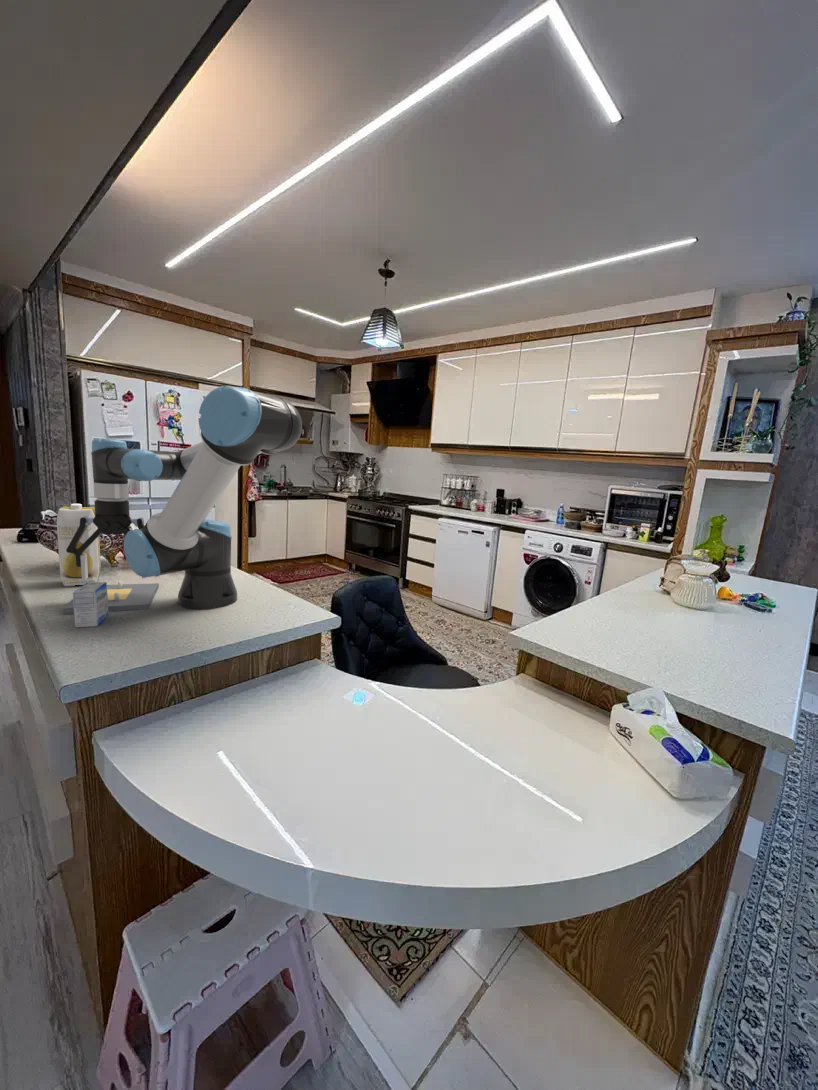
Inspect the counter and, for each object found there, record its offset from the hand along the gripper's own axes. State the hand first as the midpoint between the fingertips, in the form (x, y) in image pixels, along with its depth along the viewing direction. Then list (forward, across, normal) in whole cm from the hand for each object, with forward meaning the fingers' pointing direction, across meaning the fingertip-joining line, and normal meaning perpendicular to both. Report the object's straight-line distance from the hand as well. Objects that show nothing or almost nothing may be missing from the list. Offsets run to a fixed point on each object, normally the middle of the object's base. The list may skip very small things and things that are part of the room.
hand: (115, 577), depth 118 cm
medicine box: (+6, +2, +16) cm, 18 cm away
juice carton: (+6, +12, -18) cm, 23 cm away
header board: (+6, 0, 0) cm, 6 cm away
